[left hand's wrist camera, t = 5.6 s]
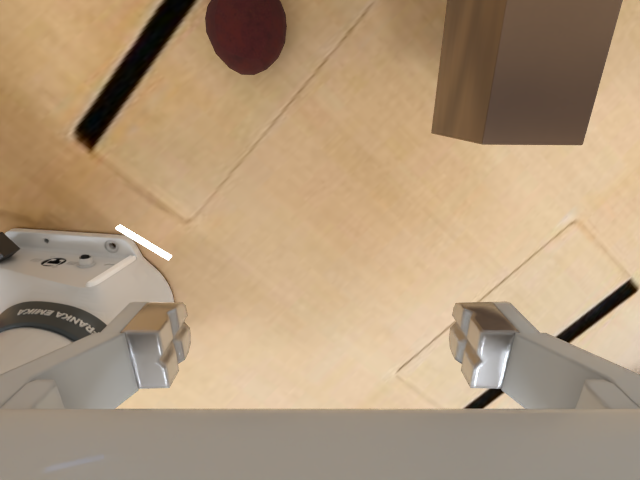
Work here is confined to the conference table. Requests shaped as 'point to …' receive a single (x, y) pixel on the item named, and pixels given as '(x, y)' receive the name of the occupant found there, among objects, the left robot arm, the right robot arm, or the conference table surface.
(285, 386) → the conference table surface
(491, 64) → the box
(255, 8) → the dark red rounded ball
